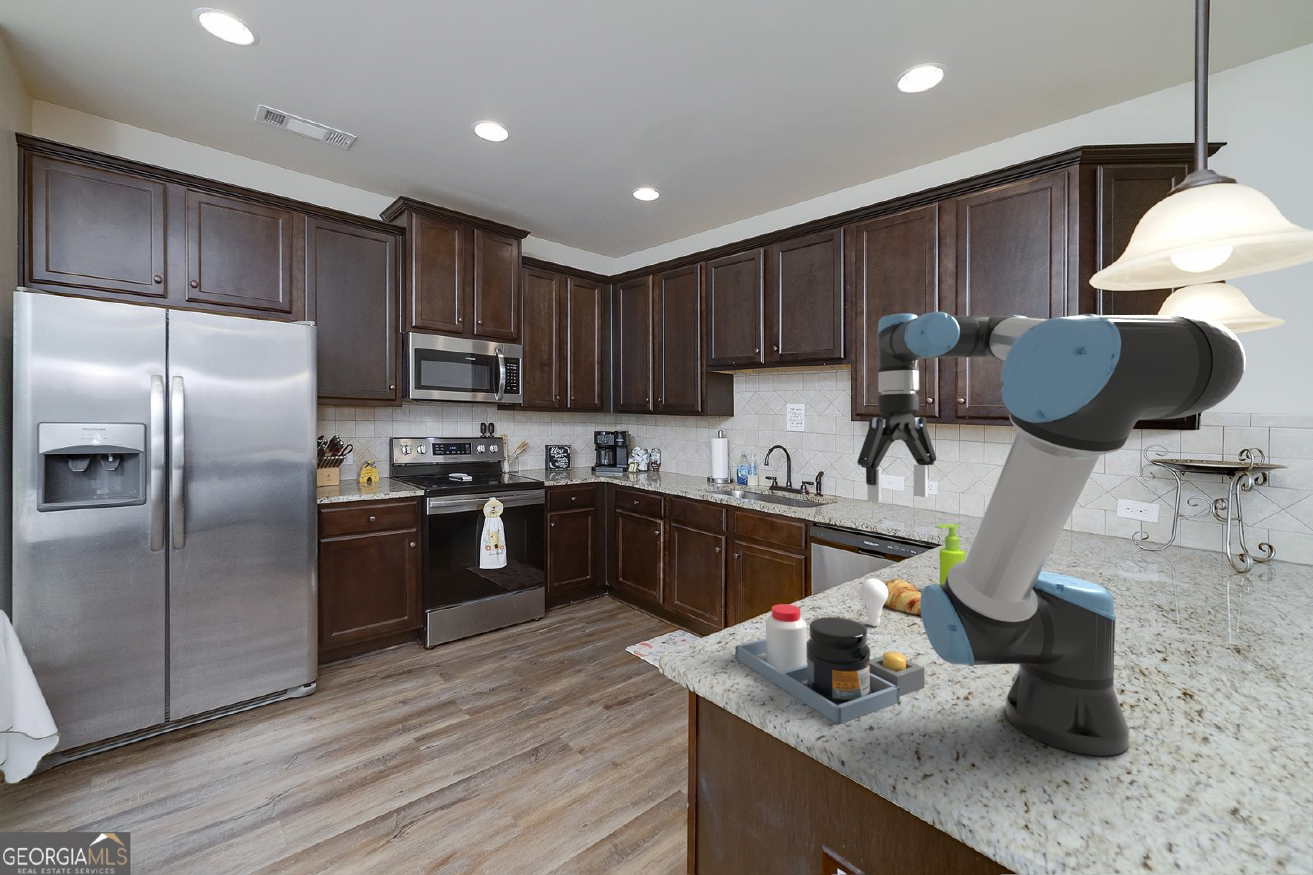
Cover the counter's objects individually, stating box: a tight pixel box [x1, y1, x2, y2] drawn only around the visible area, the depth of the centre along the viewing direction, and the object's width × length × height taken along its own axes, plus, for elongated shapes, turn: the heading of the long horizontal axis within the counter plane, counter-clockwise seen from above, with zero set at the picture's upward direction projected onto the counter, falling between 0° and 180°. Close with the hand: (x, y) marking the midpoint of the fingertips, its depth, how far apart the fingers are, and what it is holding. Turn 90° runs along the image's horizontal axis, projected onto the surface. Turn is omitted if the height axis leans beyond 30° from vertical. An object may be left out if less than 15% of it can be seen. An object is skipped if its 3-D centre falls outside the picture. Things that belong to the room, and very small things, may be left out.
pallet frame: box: [734, 638, 901, 725], centre depth 101 cm, size 27×14×2 cm, turn 27°
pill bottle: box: [765, 603, 808, 672], centre depth 107 cm, size 8×8×11 cm
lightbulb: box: [859, 578, 888, 627], centre depth 126 cm, size 6×6×11 cm
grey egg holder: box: [870, 655, 925, 697], centre depth 98 cm, size 7×7×4 cm
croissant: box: [883, 577, 922, 616], centre depth 139 cm, size 21×10×8 cm, turn 19°
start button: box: [882, 651, 907, 672], centre depth 98 cm, size 4×4×3 cm
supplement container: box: [806, 616, 871, 705], centre depth 95 cm, size 10×10×12 cm
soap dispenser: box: [935, 523, 966, 585], centre depth 143 cm, size 6×7×20 cm
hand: (898, 499), depth 110 cm, fingers open, 13 cm apart
